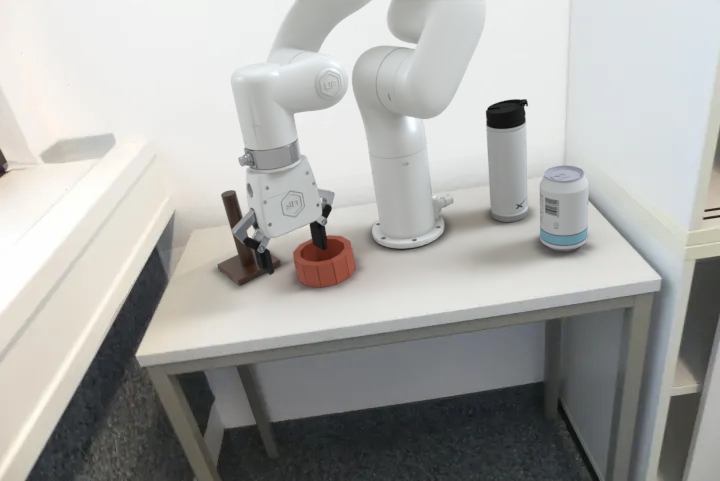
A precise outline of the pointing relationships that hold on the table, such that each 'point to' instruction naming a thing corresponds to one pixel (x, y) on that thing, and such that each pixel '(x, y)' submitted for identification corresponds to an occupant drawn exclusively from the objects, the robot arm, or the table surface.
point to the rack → (240, 247)
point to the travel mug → (507, 159)
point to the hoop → (324, 262)
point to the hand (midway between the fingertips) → (294, 258)
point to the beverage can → (564, 208)
